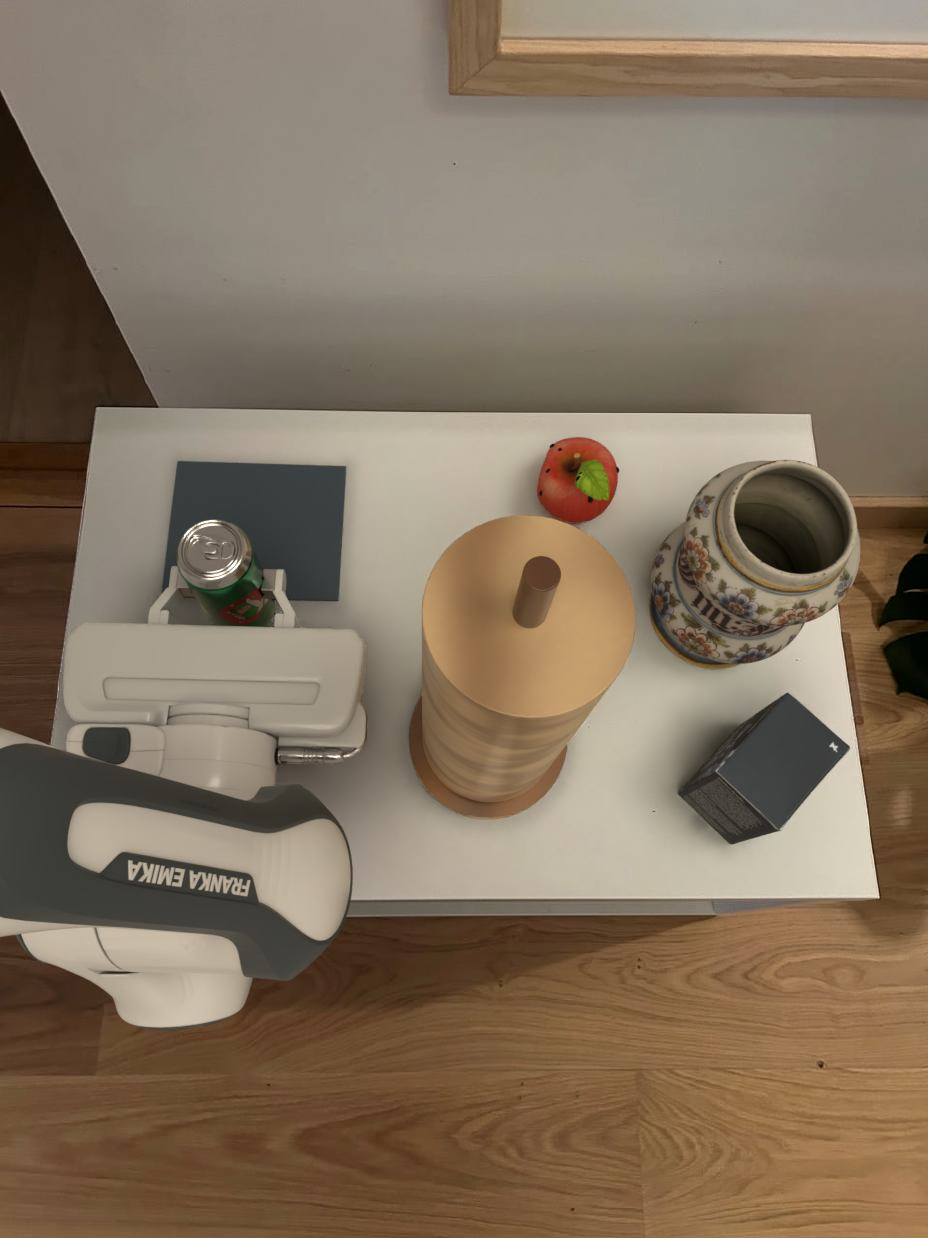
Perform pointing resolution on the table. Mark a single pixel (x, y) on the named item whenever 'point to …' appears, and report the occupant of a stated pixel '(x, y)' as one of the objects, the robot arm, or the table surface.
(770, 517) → the apothecary jar
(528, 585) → the towel stand
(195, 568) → the soda can
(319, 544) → the mat
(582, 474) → the apple
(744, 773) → the box
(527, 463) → the table surface
